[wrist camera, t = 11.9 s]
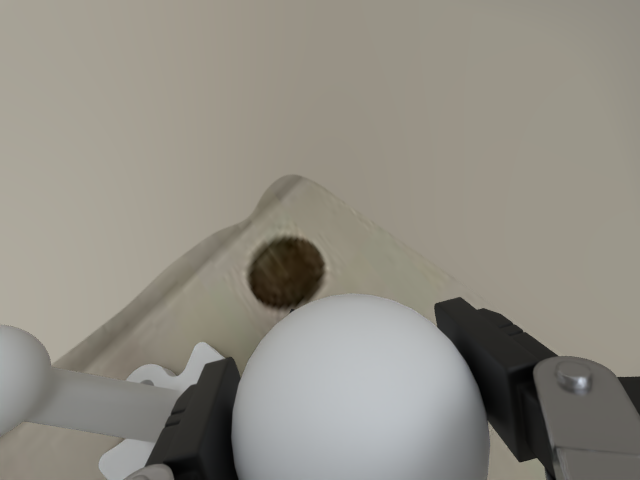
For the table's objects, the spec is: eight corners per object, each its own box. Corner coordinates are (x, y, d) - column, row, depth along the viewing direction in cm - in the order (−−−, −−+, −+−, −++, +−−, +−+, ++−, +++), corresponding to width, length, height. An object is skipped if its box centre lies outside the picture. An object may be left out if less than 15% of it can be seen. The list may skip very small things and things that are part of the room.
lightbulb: (463, 458, 15) (629, 461, 5) (342, 558, 13) (287, 787, 4) (374, 337, 18) (381, 207, 8) (269, 411, 16) (142, 352, 7)
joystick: (149, 506, 26) (-267, 610, 9) (93, 438, 29) (-302, 419, 12) (248, 376, 30) (88, 277, 13) (189, 327, 33) (-3, 195, 16)
